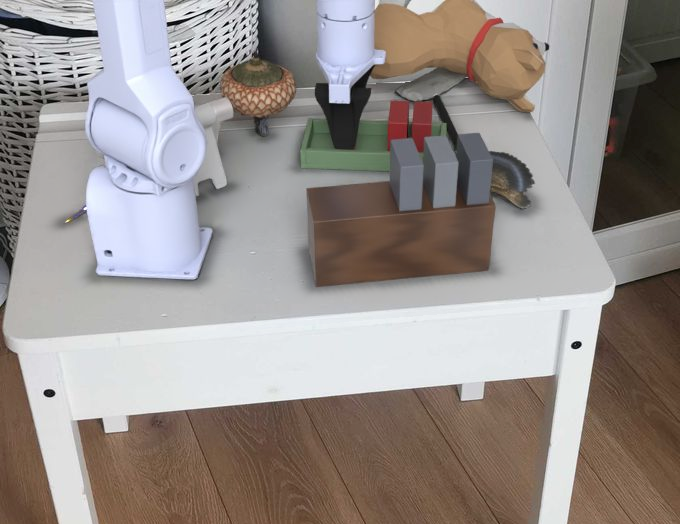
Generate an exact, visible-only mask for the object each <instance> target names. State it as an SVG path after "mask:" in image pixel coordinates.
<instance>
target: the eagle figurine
mask: <svg viewBox="0 0 680 524" xmlns="http://www.w3.org/2000/svg"><path fill="white" fill-rule="evenodd" d="M488 151H489V152H490V154H491V156H492V158H493V167H492V177H491V187H490V192H493V193H496V194H497V195H499V196H502V197H503V198H505V199H507V200H508V201H509V202H511V203H512V204H514V205H515V206H516V207H518V208H520V209H521V210H523V209H528V207H531V206H532V201H531V200H530V199H529V196H527V195H525V194H524V193H527V192H528V191H529V190H528V189H532V188H533V186H534V185H535V184H536V182H535V180H534V179H533V178H534V174H533V173H532V172H531V170H530V168H529V167H528V166H527V164H526V163H525V162H523V161H522V160H521V159H519V158H518V157H516V156H514V155H513V154H510V153H508V152H504V151H495V150H494V151H492V150H488ZM453 152H454V154H455V156H456V151H454V150H453Z"/></svg>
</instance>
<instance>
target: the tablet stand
mask: <svg viewBox="0 0 680 524" xmlns="http://www.w3.org/2000/svg"><path fill="white" fill-rule="evenodd" d="M194 109H195V114H196V117H197V119H198V121H199V122H200V123H201V125H202V126H203V128H204V130H205V134H206V139H207V148H206V154H205V157H204V160H203V163H202V165H201V167H200V168H199V170H198V171H197V176H195V177H194V178H193V180H194V188H195V196H196V197H199V196H200V191H199V185H198V184H199V183H200V182H202V181H206V180H209V179H210V180H211V181H212V183H213V186H214V188H215V190H219V189H222V188H225V187H226V186H227V184H228V180H227V176H226V173H225V169H224V165H223V162H222V159H221V155H220V151H219V148H218V142H219V141H218V140H219V136H220V135H219V134H220V129H221V124H222V122H224V121H227V120H231V119H233V118H234V111H233V107H232V104H231V102H230V101H229V99H228V98H226V97H224V98H222V97H221V98H218V99H214V100H212V101H209V102H206V103H202V104H200V105H196V106H195V105H194Z"/></svg>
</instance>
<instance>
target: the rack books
mask: <svg viewBox="0 0 680 524" xmlns="http://www.w3.org/2000/svg"><path fill="white" fill-rule="evenodd" d="M433 107H434V101H420V100H419V101H413V111H412V121H411V122H412V138H413V140H414V143H415V145H416V148H417V150H418V152H422V153H423V151H424V137H431V129H432V123H433ZM388 111H389V112H388V119H387V121H388V145H387V151H390V140H394V139H406V138H408V126H409V122H410V100H390V103H389V110H388Z"/></svg>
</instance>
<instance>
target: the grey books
mask: <svg viewBox="0 0 680 524" xmlns="http://www.w3.org/2000/svg"><path fill="white" fill-rule="evenodd" d="M455 150H456V149H455ZM453 151H454V149H453V147H452V145H451V143H450V141H449V139H448V136H447V134H446V135H443V136H431V137H424V151H423V163H422V160H421V158H420V155H419V153H418V150H417V148H416V145H415V143H414V140H413V138H406V139H394V140H390V171H389V180H388V181H389V183H390V186H391V189H392V192H393V195H394V198H395V201H396V203H397V206H398V209H399V211H410V210H421V209H422V190H423V183H424V186H425V189H426V191H427V194H428V196H429V199H430V201H431V204H432V206H433V208H443V207H454V206H455V204H456V190H457V184H458V186H459V188H460V191H461V193H462V195H463V197H464V200H465V202H466V204H467V205H476V204H488V203H489V197H490V196H491V191H490V187H491V177H492V167H493V158H492V156H491V154H490V152H489V151H490V150H489V148H488V147H487V145H486V143H485V140H484V138H483V137H482V135H481V133H480V132H470V133H469V132H467V133H458V137H457V150H456V151H454V152H455V153H456V156H455V154H454V152H453Z"/></svg>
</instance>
